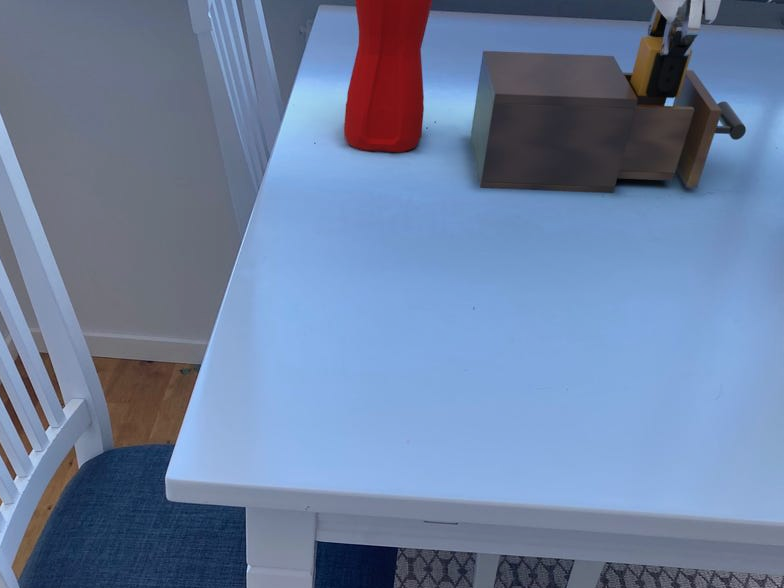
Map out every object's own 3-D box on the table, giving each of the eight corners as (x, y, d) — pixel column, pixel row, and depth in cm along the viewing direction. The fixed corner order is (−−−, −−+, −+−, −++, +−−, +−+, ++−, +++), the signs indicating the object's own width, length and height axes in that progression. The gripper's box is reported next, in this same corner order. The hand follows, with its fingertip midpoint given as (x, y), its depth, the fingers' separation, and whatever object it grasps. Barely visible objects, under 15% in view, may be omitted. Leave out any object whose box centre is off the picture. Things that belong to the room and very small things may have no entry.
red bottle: (420, 124, 117) (448, -132, 99) (420, 158, 110) (450, -111, 91) (346, 119, 118) (360, -137, 99) (341, 154, 110) (355, -116, 92)
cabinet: (591, 147, 114) (613, 55, 106) (612, 195, 104) (638, 99, 97) (469, 142, 114) (483, 50, 106) (479, 190, 104) (495, 93, 97)
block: (669, 83, 104) (682, 37, 101) (678, 97, 101) (692, 51, 98) (630, 81, 104) (641, 36, 101) (638, 95, 101) (650, 49, 98)
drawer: (707, 145, 112) (731, 71, 107) (735, 189, 104) (763, 112, 98) (557, 139, 113) (573, 65, 107) (574, 183, 104) (592, 105, 98)
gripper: (780, -105, 83) (709, 118, 97) (730, -141, 94) (672, 63, 108) (696, -108, 83) (636, 115, 97) (655, -144, 95) (607, 61, 108)
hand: (655, 86), depth 102 cm, fingers closed on block, 4 cm apart
